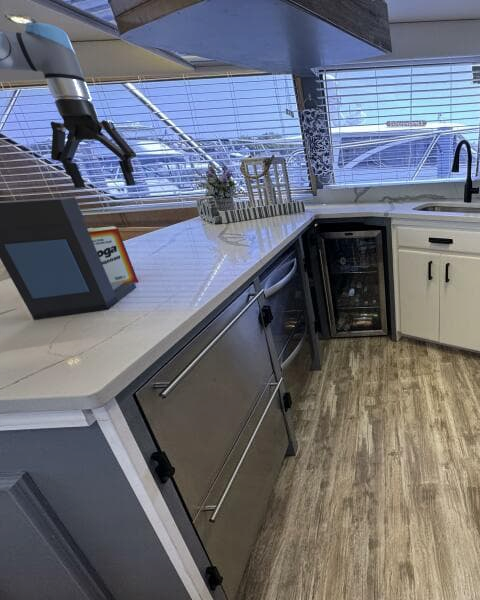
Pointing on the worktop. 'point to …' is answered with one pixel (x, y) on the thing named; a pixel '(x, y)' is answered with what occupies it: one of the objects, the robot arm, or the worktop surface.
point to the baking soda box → (113, 254)
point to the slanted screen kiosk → (54, 259)
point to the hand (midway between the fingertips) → (106, 186)
